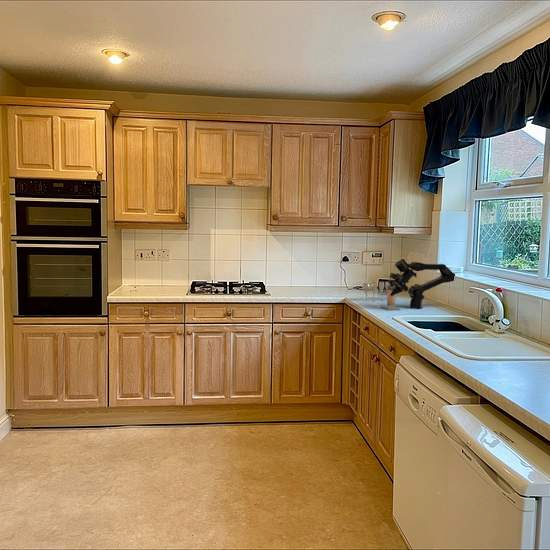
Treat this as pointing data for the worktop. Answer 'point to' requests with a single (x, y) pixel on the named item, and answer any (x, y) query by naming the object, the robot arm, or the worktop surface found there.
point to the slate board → (390, 307)
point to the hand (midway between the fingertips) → (388, 294)
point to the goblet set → (374, 285)
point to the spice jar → (390, 298)
